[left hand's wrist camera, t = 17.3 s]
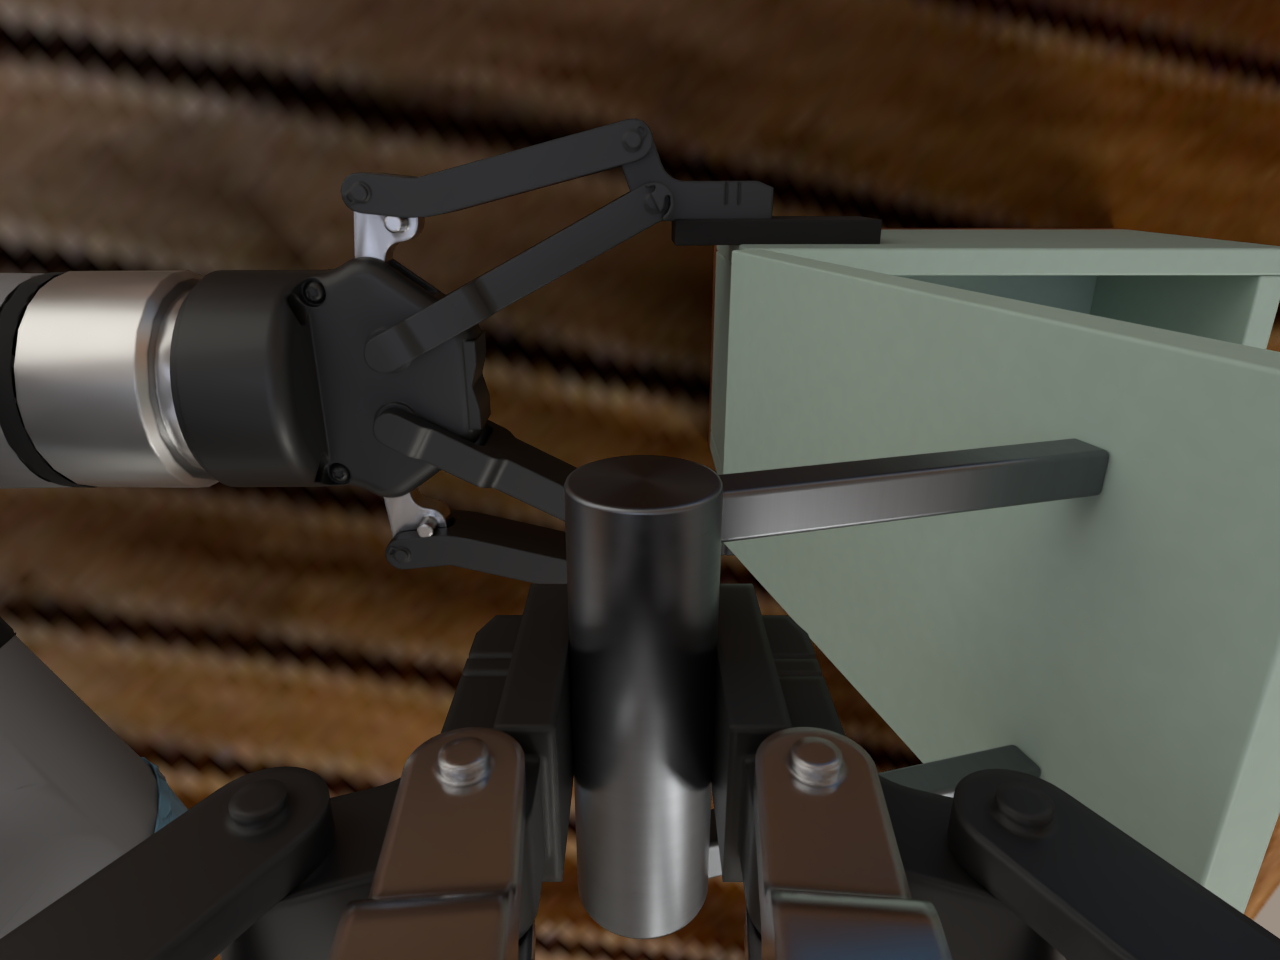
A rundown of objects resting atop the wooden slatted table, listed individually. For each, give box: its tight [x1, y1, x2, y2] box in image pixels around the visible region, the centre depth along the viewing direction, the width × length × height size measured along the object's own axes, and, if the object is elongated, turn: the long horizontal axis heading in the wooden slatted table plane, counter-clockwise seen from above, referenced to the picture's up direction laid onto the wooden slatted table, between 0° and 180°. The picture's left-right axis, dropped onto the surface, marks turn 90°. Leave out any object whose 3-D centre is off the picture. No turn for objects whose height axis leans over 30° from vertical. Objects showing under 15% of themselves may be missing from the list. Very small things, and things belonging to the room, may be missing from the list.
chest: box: [708, 228, 1280, 475], centre depth 31 cm, size 17×9×10 cm, turn 90°
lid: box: [564, 249, 1280, 939], centre depth 17 cm, size 17×9×9 cm
